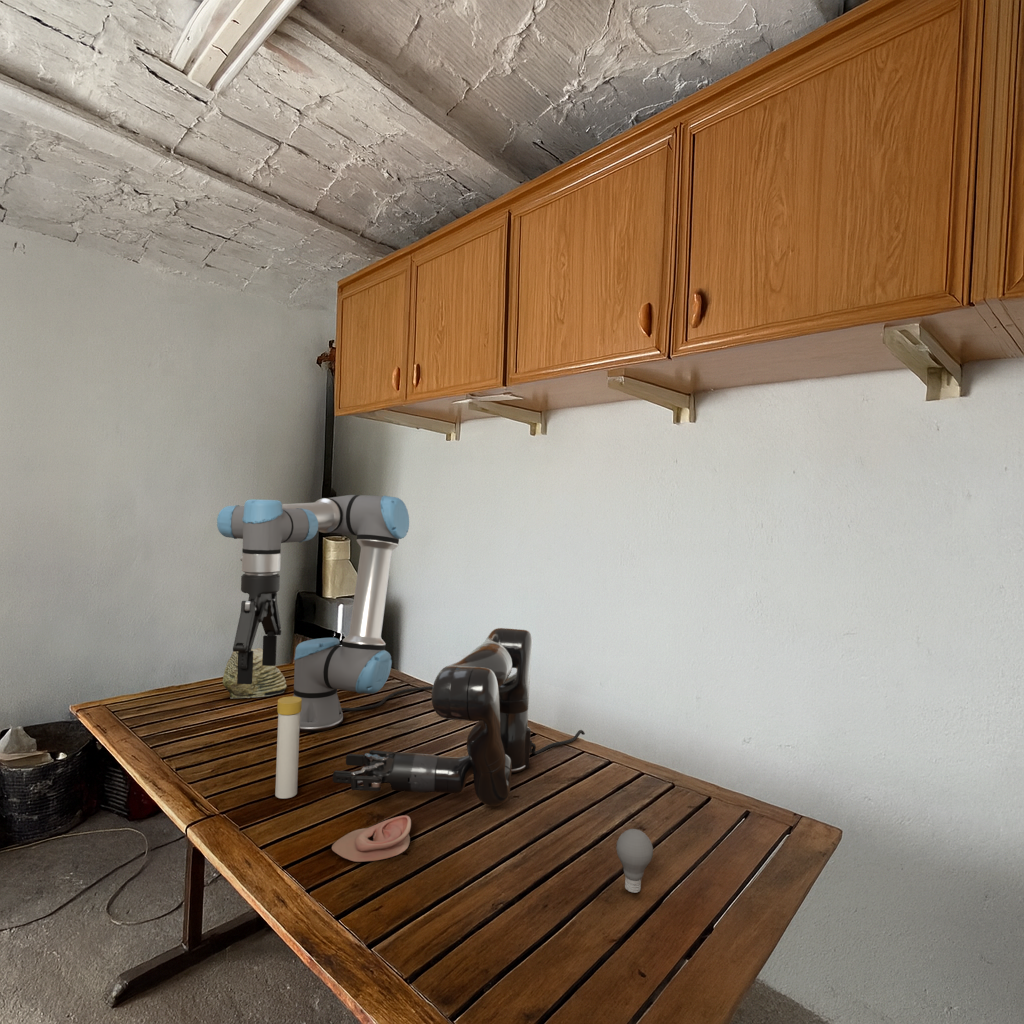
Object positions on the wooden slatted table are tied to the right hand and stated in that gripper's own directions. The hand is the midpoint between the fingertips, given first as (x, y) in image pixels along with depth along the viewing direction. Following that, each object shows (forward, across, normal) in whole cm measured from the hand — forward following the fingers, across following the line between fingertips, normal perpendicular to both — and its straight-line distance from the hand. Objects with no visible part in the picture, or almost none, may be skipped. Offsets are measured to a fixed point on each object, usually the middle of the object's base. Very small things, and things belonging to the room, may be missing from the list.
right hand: (340, 767), depth 134 cm
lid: (+11, 0, -13) cm, 18 cm away
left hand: (+18, +1, -19) cm, 26 cm away
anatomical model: (-12, +18, +6) cm, 22 cm away
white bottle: (+11, 0, +6) cm, 13 cm away
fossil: (+47, -62, +6) cm, 78 cm away
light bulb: (-58, +25, +6) cm, 64 cm away
